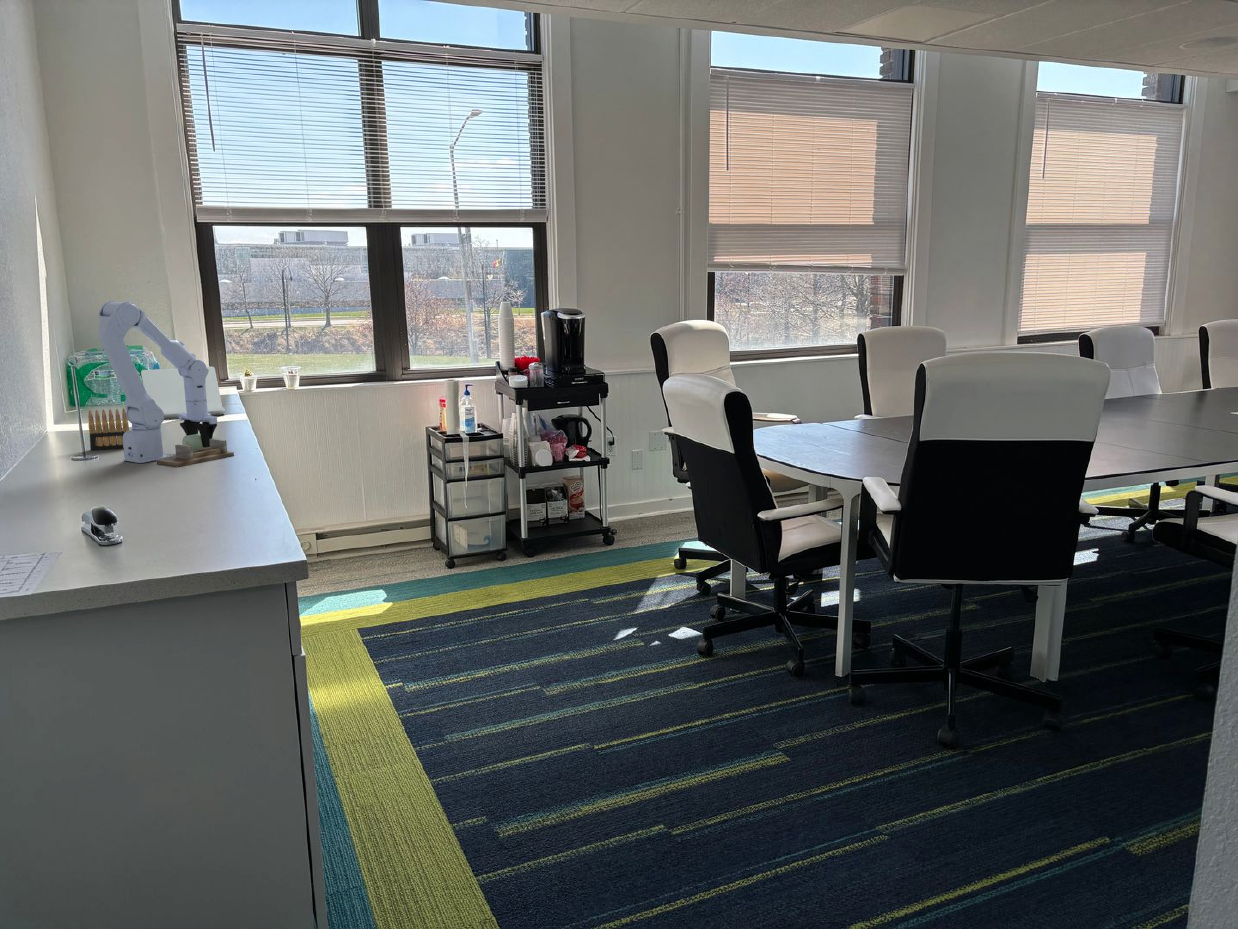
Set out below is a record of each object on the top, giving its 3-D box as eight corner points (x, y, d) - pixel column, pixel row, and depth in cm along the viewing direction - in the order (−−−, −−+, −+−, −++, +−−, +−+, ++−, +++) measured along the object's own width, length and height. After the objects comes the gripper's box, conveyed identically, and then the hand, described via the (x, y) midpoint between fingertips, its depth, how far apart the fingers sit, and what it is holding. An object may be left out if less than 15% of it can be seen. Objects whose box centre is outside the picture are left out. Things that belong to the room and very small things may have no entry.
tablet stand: (144, 415, 339) (139, 369, 336) (216, 410, 353) (213, 365, 349) (150, 421, 324) (145, 373, 321) (226, 416, 338) (222, 370, 334)
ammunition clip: (90, 450, 270) (85, 410, 268) (91, 449, 272) (86, 409, 269) (131, 448, 274) (127, 408, 272) (131, 447, 276) (127, 407, 274)
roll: (194, 454, 265) (193, 436, 264) (183, 452, 268) (181, 434, 267) (218, 449, 272) (216, 432, 271) (206, 448, 275) (205, 430, 274)
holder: (177, 466, 248) (176, 450, 247) (156, 463, 252) (155, 447, 251) (234, 455, 263) (232, 440, 262) (213, 452, 267) (211, 437, 267)
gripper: (224, 400, 267) (228, 446, 270) (192, 397, 274) (196, 441, 277) (203, 403, 261) (207, 450, 264) (170, 400, 268) (175, 445, 271)
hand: (200, 446), depth 270 cm, fingers closed on roll, 5 cm apart
